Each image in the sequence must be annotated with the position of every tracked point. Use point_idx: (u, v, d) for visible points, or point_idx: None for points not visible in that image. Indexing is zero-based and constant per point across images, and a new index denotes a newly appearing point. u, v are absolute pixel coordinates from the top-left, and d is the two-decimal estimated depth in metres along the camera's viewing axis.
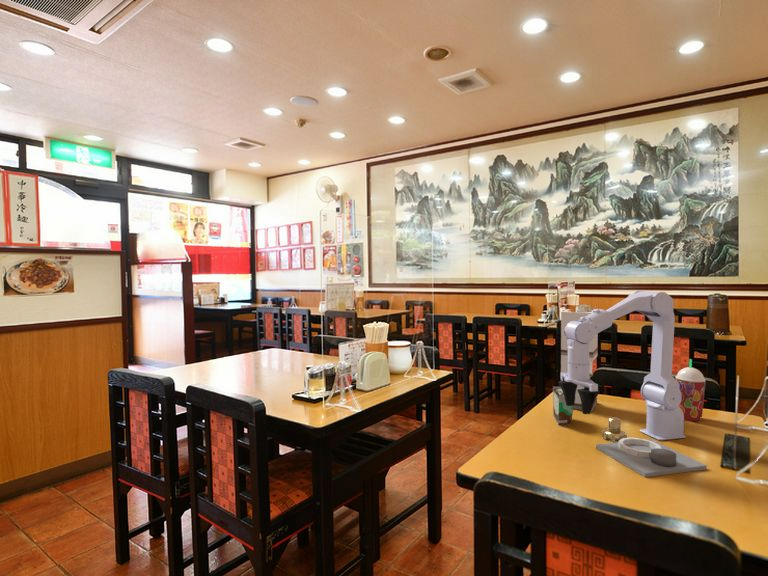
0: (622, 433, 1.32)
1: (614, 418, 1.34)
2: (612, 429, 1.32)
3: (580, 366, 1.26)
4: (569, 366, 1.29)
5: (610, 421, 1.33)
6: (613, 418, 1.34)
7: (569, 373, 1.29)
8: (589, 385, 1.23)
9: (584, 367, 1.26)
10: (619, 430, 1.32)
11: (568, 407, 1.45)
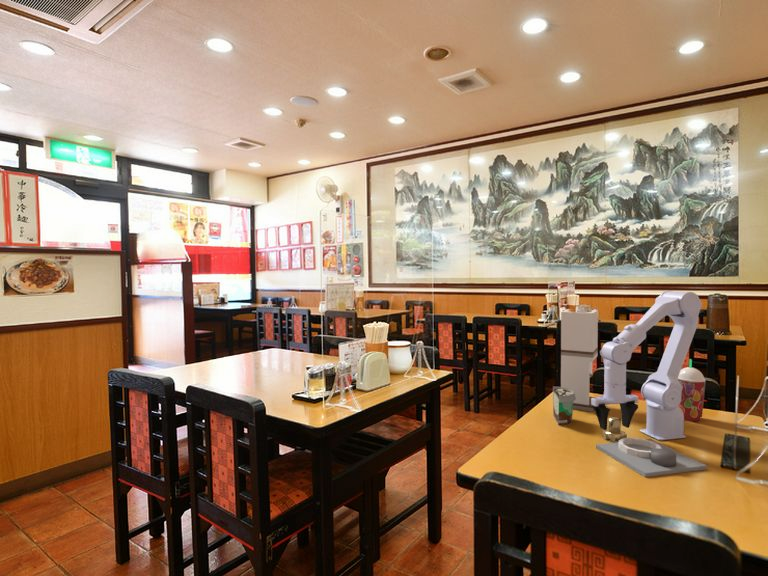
0: (622, 433, 1.32)
1: (614, 418, 1.34)
2: (612, 429, 1.32)
3: (604, 383, 1.34)
4: None
5: (610, 421, 1.33)
6: (613, 418, 1.34)
7: None
8: None
9: (606, 385, 1.32)
10: (619, 430, 1.32)
11: (568, 407, 1.45)
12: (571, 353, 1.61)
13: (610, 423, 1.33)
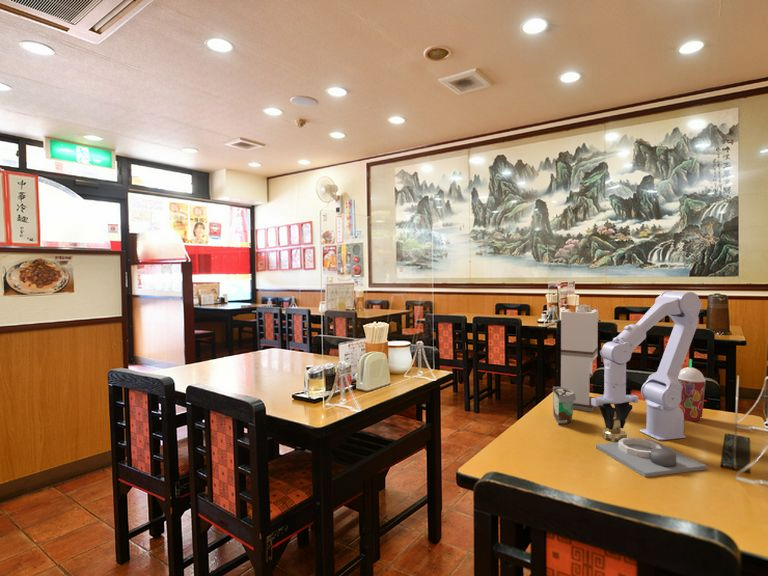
0: (622, 433, 1.32)
1: (614, 418, 1.34)
2: None
3: (604, 383, 1.34)
4: None
5: None
6: (613, 418, 1.34)
7: None
8: None
9: (606, 385, 1.32)
10: (619, 430, 1.32)
11: (568, 407, 1.45)
12: (571, 353, 1.61)
13: None
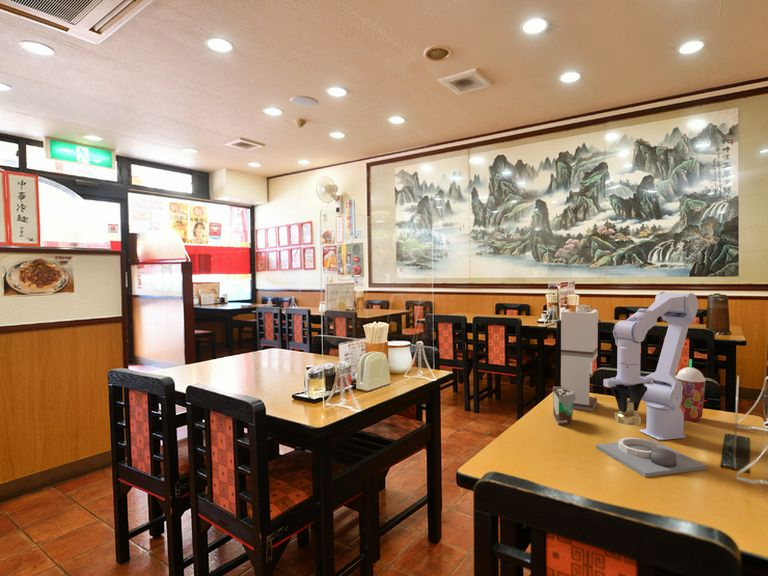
0: (636, 416, 1.26)
1: (627, 400, 1.27)
2: (626, 411, 1.26)
3: (617, 364, 1.27)
4: None
5: None
6: None
7: None
8: None
9: (619, 365, 1.26)
10: (632, 413, 1.26)
11: (568, 407, 1.45)
12: (571, 353, 1.61)
13: None
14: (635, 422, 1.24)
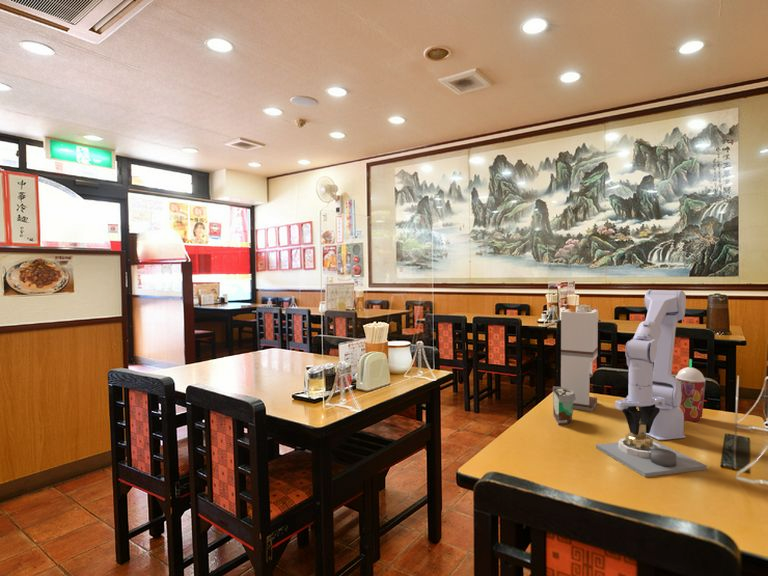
0: (648, 438, 1.22)
1: (639, 422, 1.23)
2: None
3: (629, 384, 1.22)
4: None
5: None
6: None
7: None
8: None
9: (631, 386, 1.21)
10: (644, 435, 1.21)
11: (568, 407, 1.45)
12: (571, 353, 1.61)
13: None
14: (648, 445, 1.20)
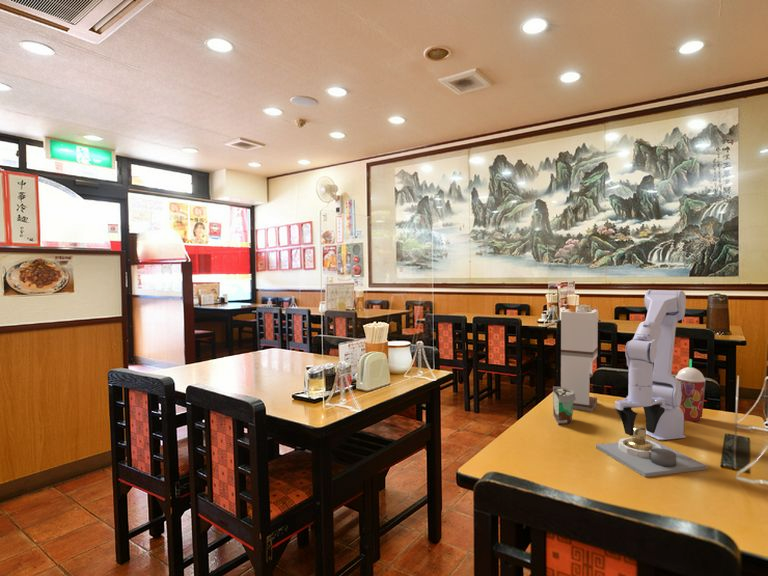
0: (647, 444, 1.22)
1: (638, 427, 1.23)
2: (637, 439, 1.22)
3: (629, 385, 1.22)
4: None
5: (634, 431, 1.22)
6: (637, 427, 1.23)
7: None
8: None
9: (631, 387, 1.21)
10: (644, 440, 1.22)
11: (568, 407, 1.45)
12: (571, 353, 1.61)
13: (634, 433, 1.22)
14: (648, 450, 1.20)
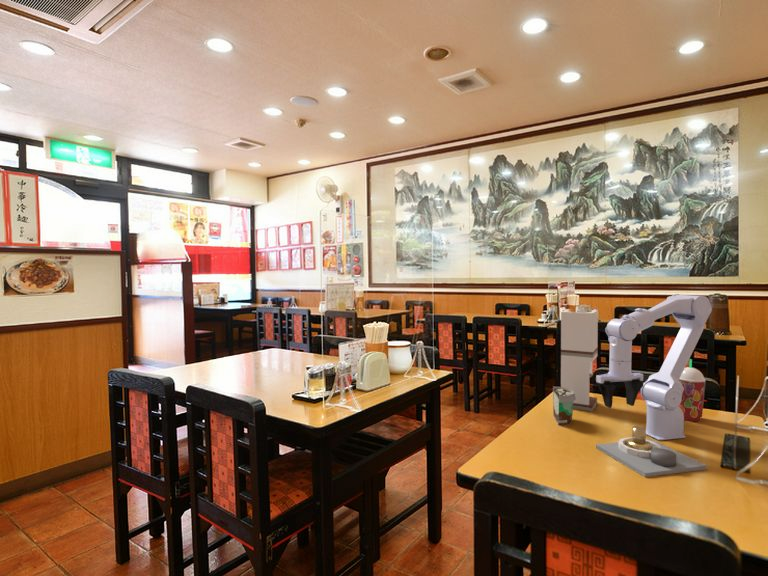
0: (647, 444, 1.22)
1: (638, 427, 1.23)
2: (637, 439, 1.22)
3: (609, 360, 1.32)
4: None
5: (634, 431, 1.22)
6: (637, 427, 1.23)
7: None
8: None
9: (612, 362, 1.30)
10: (644, 440, 1.22)
11: (568, 407, 1.45)
12: (571, 353, 1.61)
13: (634, 433, 1.22)
14: (648, 450, 1.20)
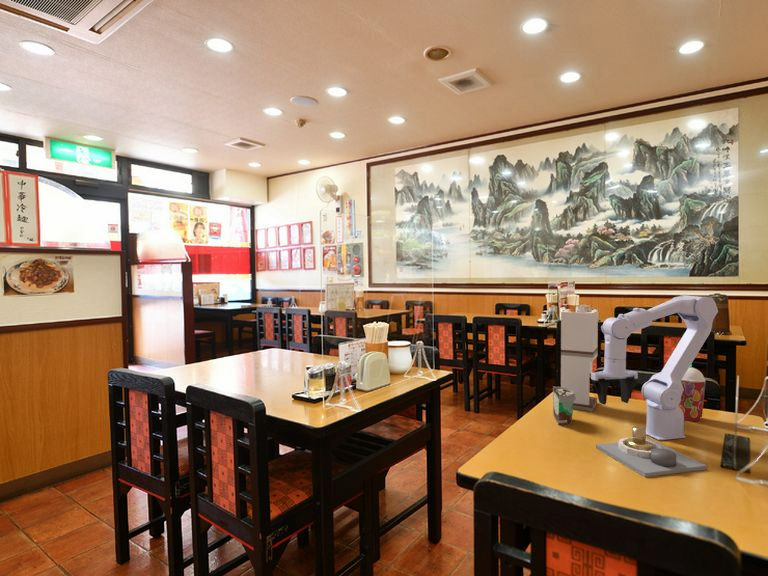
0: (647, 444, 1.22)
1: (638, 427, 1.23)
2: (637, 439, 1.22)
3: (604, 358, 1.34)
4: None
5: (634, 431, 1.22)
6: (637, 427, 1.23)
7: None
8: None
9: (606, 360, 1.33)
10: (644, 440, 1.22)
11: (568, 407, 1.45)
12: (571, 353, 1.61)
13: (634, 433, 1.22)
14: (648, 450, 1.20)
